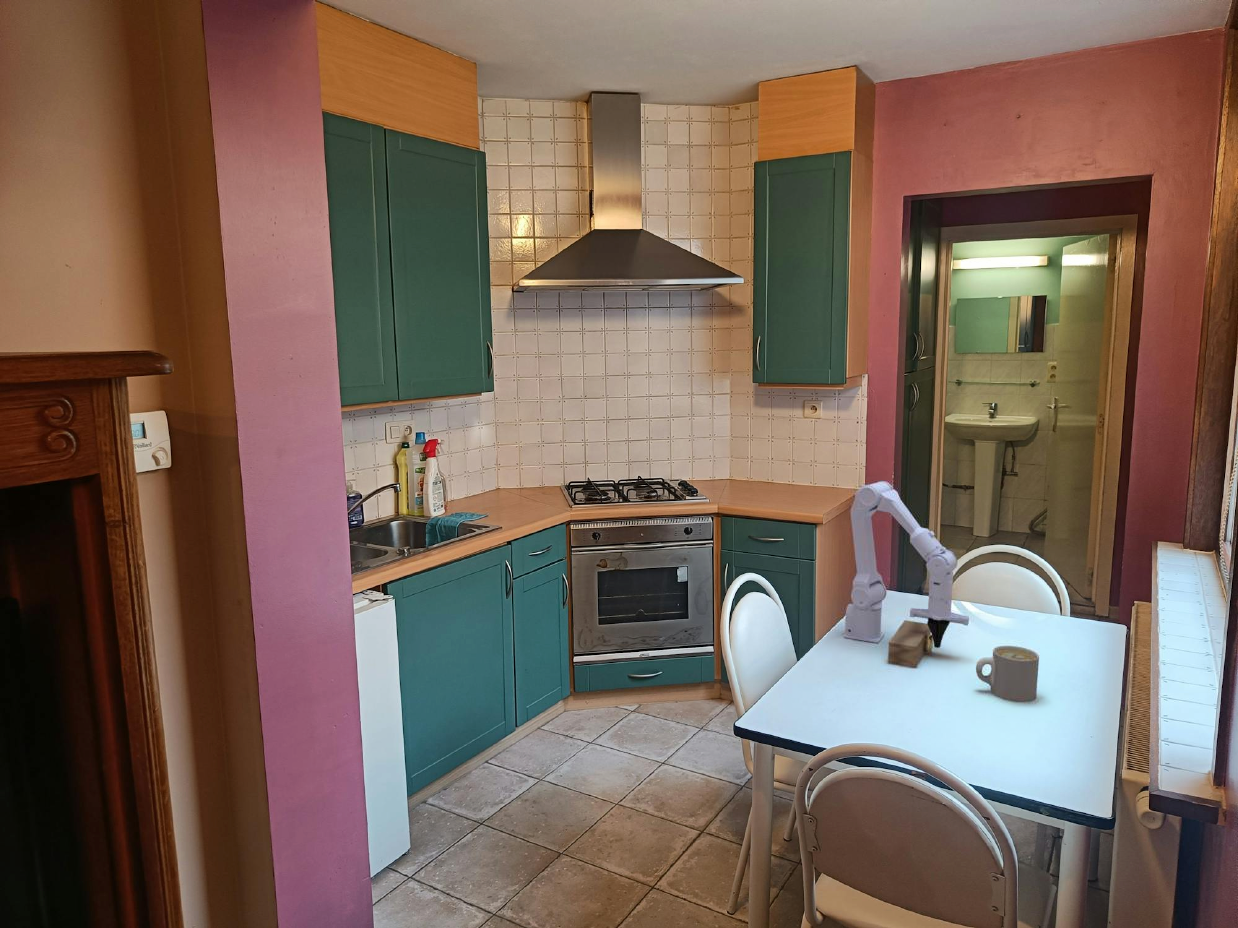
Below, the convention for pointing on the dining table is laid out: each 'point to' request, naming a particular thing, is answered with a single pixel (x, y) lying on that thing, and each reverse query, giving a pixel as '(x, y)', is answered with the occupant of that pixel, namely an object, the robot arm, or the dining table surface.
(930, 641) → the steel pin
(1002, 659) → the coffee mug
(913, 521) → the robot arm
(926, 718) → the dining table surface
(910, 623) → the drawbar beam
